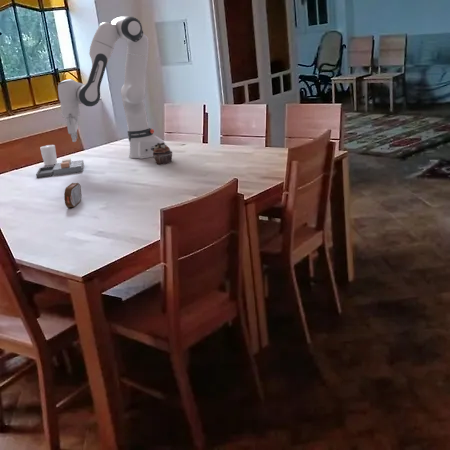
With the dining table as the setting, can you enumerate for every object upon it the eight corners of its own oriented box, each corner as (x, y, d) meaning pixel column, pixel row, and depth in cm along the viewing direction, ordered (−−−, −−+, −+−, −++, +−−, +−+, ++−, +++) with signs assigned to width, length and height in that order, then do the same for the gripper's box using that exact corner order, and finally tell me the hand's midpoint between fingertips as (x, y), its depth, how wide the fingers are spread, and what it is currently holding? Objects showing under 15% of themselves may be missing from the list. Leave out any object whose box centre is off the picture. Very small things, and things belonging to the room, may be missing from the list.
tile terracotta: (70, 165, 327) (69, 161, 326) (69, 166, 323) (68, 163, 322) (62, 166, 326) (61, 162, 326) (61, 168, 322) (60, 164, 322)
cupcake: (172, 163, 317) (169, 143, 313) (153, 165, 317) (150, 145, 314) (174, 159, 326) (171, 140, 323) (155, 161, 326) (152, 142, 323)
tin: (77, 200, 268) (73, 180, 266) (84, 199, 268) (80, 179, 265) (65, 210, 254) (61, 190, 252) (73, 209, 254) (69, 189, 251)
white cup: (60, 162, 355) (56, 144, 352) (55, 165, 347) (51, 147, 344) (46, 163, 356) (43, 145, 353) (41, 166, 348) (37, 148, 345)
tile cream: (71, 162, 334) (70, 158, 334) (70, 163, 330) (69, 159, 330) (63, 163, 334) (62, 159, 333) (62, 164, 330) (62, 161, 329)
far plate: (84, 165, 338) (83, 159, 337) (82, 171, 322) (81, 166, 322) (57, 169, 336) (56, 163, 335) (54, 175, 321) (52, 169, 320)
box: (56, 169, 336) (55, 165, 335) (53, 175, 321) (52, 172, 320) (40, 171, 335) (39, 167, 334) (36, 178, 320) (36, 174, 319)
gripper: (75, 114, 312) (80, 142, 316) (78, 109, 331) (82, 136, 335) (62, 116, 311) (67, 144, 315) (65, 111, 330) (70, 137, 334)
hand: (75, 140), depth 325 cm, fingers open, 8 cm apart
